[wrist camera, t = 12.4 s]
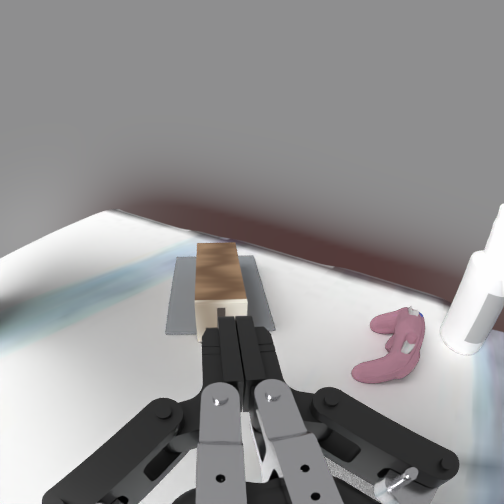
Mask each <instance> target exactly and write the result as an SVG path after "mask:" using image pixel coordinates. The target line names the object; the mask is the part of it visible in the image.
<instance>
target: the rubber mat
mask: <svg viewBox="0 0 504 504" xmlns="http://www.w3.org/2000/svg"><path fill="white" fill-rule="evenodd" d="M238 259H239V264H240V268H241V273H242V278H243V283H244V288H245V292H246V297H247V302H248V306H247V316H252V318H253V322H254V327H261V326H264V327H265V328H266V329H267V330H268V331H274V330H275V327H274V323H273V320H272V317H271V314H270V310H269V307H268V304H267V300H266V297H265V294H264V290H263V287H262V284H261V280H260V277H259V274H258V270H257V267H256V264H255V260H254V257H253V256H238ZM195 278H196V257H177V258H176V264H175V270H174V276H173V282H172V289H171V295H170V302H169V309H168V316H167V324H166V332H165V333H166V334H197V328H196V317H195Z"/></svg>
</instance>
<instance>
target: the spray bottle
mask: <svg viewBox="0 0 504 504" xmlns="http://www.w3.org/2000/svg"><path fill="white" fill-rule="evenodd" d="M503 307H504V204H502V205H501V206H500V208H499V212H498V216H497V217H496V220H495V221H494V223H493V227H492V230H491V233H490V236H489V238H488V240H487V243H486V246H485V249H484V250H482V251H477V252H474V253H473V254H472V256H471V257H470V260H469V263H468V266H467V268H466V271H465V273H464V276H463V279H462V281H461V283H460V286H459V288H458V291H457V293H456V295H455V298H454V300H453V302H452V304H451V306H450V309H449V311H448V313H447V315H446V317H445V319H444V321H443V323H442V325H441V329H440V334H441V337H442V340H443V341H444V343H445V344H446V345H447V346H448V347H449V348H450V349H452V350H453V351H455V352H457V353H459V354H462V355H472V354H475V353H476V352H477V351H479V349H480V348H481V346H482V345H483V343H484V341H485V340H486V338H487V336H488V334H489V333H490V331H491V329H492V327H493V325H494V324H495V322H496V320H497V318H498V316H499V314H500V313H501V310H502V309H503Z"/></svg>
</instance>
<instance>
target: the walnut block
mask: <svg viewBox="0 0 504 504" xmlns="http://www.w3.org/2000/svg"><path fill="white" fill-rule="evenodd" d="M247 306H248V302H247V297H246V292H245V288H244V283H243V278H242V273H241V268H240V264H239V259H238V254H237V249H236V244H235V243H197V257H196V278H195V317H196V328H197V339H198V342H202V336H203V334H204V332H205V330H206V329H210V328H218V317H224V316H234V318H235V316H247Z"/></svg>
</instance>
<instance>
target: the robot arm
mask: <svg viewBox="0 0 504 504" xmlns="http://www.w3.org/2000/svg"><path fill="white" fill-rule="evenodd" d="M202 368H203V387H202V389H201V391H200V393H199V394H198V395H197V396H195V397H194V398H192V399H190V400H187V401H183V402H180V403H177V402H176V401H174V400H172V399H169V398H159V399H155V400H153V401H152V402H150V403H149V404H148V405H147V406H146V407H145V408H144V409H143V410H141V411H140V412H139V413H138V414H137V415H136V416H135V417H134V418H133V419H131V420H130V421H129V422H128V423H127V424H126V425H125V426H124V427H123V428H121V429H120V430H119V431H118V432H117V433H116V434H115V435H114V436H112V437H111V438H110V439H109V440H108V441H107V442H106V443H104V444H103V445H102V446H101V447H100V448H99V449H98V450H96V451H95V452H94V453H93V454H92V455H91V456H89V457H88V458H87V459H86V460H85V461H84V462H82V463H81V464H80V465H79V466H78V467H76V468H75V469H74V470H73V471H72V472H70V473H69V474H68V475H67V476H66V477H64V478H63V479H62V480H61V481H59V482H58V483H57V484H56V485H55V486H53V487H52V488H51V489H50V490H48V491H47V492H46V493H45V494H44V496H43V498H42V504H138V503H139V502H140V501H141V500H142V499H143V498H144V497H145V496H146V495H147V494H148V493H149V492H150V491H151V490H152V489H153V488H154V487H155V486H156V485H157V484H158V483H159V482H160V481H161V480H162V479H163V478H164V477H165V476H166V475H167V474H168V473H169V472H170V471H171V470H172V469H173V468H174V467H175V466H176V465H177V463H178V462H179V461H180V460H181V459H182V458H183V457H184V456H185V455H186V454H187V453H188V451H189V450H191V449H194V448H197V465H196V488H194V489H191V490H189V491H187V492H185V493H184V494H182V495H181V496H179V497H178V498H177V499H176V500H175V501H174V502H173V503H172V504H381V503H379V502H378V501H376V500H374V499H372V498H371V497H369V496H367V495H366V494H364V493H362V492H361V491H359V490H358V489H356V488H354V487H353V486H351V485H350V484H348V483H346V482H345V481H343V480H341V479H339V478H337V477H334V476H332V475H331V472H330V470H329V467H328V465H327V463H326V460H325V458H324V456H325V457H327V458H328V459H330V460H332V461H333V462H335V463H336V464H338V465H340V466H341V467H343V468H345V469H346V470H348V471H350V472H351V473H353V474H355V475H356V476H358V477H360V478H362V479H363V480H365V481H367V482H369V483H371V484H372V485H374V494H375V497H376V498H377V499H378V500H379V501H381V502H382V503H383V504H430V503H431V501H432V499H433V497H434V495H435V493H436V491H437V489H438V487H439V486H440V485H442V484H443V483H445V482H447V481H448V480H450V479H451V478H453V477H454V476H455V475H456V474H457V472H458V469H459V460H458V457H457V456H456V454H455V453H454V452H452V451H450V450H448V449H446V448H444V447H442V446H440V445H438V444H436V443H434V442H432V441H430V440H428V439H426V438H424V437H422V436H420V435H418V434H416V433H415V432H413V431H411V430H409V429H407V428H405V427H403V426H401V425H400V424H398V423H396V422H394V421H392V420H391V419H389V418H387V417H385V416H383V415H382V414H380V413H378V412H376V411H375V410H373V409H371V408H369V407H368V406H366V405H364V404H362V403H361V402H359V401H357V400H356V399H354V398H352V397H351V396H349V395H347V394H346V393H344V392H342V391H341V390H339V389H336V388H333V387H325V388H322V389H320V390H318V391H317V392H316V393H315V394H313V393H305V392H299V391H296V390H294V389H292V388H290V387H289V386H288V385H287V384H286V383H285V381H284V379H283V376H282V373H281V369H280V366H279V362H278V358H277V355H276V352H275V347H274V345H273V340H272V337H271V334H270V333H269V331H268V330H267V329H266V328H265V327H264V326H261V327H254V322H253V318H252V316H235V318H234V316H224V317H218V328H210V329H206V330H205V332H204V334H203V336H202ZM242 407H243V412H249V413H250V419H251V421H250V429H251V433H252V437H253V440H254V444H255V448H256V451H257V455H258V459H259V462H260V468H261V477H262V481H263V483H252V482H245V467H244V451H243V443H242V436H241V417H240V412H242Z"/></svg>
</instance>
